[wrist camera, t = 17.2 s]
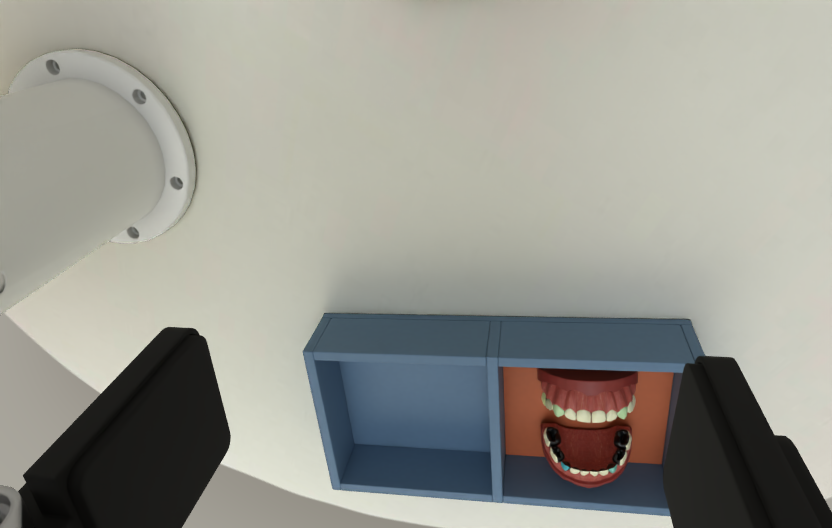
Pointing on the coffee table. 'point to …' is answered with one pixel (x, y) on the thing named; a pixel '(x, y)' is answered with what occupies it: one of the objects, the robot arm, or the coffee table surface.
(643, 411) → the storage tray
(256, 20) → the coffee table surface
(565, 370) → the dentures
